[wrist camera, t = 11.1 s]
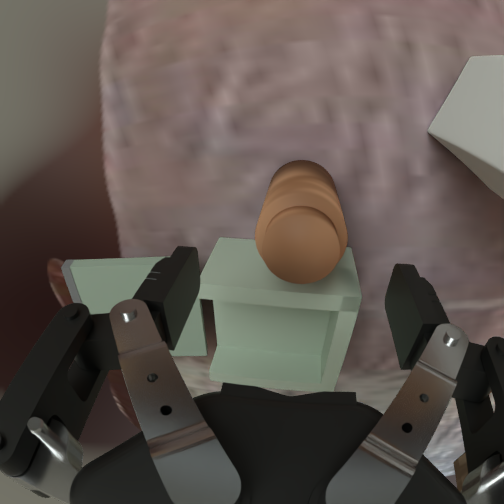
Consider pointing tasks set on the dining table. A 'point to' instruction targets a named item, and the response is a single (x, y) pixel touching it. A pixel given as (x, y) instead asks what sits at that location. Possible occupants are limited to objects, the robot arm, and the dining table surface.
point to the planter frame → (460, 470)
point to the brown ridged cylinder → (301, 224)
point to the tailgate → (127, 293)
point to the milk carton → (476, 120)
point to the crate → (278, 320)
